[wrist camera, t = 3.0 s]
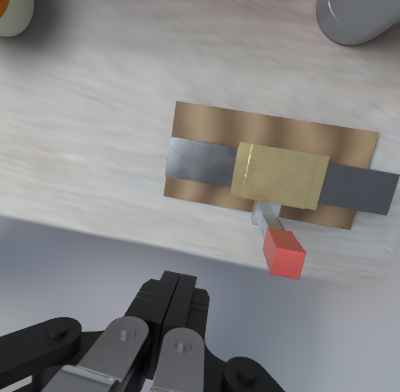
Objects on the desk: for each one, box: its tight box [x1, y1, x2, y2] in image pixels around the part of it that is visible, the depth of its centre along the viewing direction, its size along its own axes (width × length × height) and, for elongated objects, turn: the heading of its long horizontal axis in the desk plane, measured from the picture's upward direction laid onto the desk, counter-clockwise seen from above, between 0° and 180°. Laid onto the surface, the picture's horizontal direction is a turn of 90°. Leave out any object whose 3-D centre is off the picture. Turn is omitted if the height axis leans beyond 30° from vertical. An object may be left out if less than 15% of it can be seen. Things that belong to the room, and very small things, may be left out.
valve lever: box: [251, 200, 306, 279], centre depth 24 cm, size 2×3×13 cm
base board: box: [164, 101, 379, 230], centre depth 37 cm, size 26×13×2 cm, turn 81°
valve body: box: [165, 137, 400, 215], centre depth 31 cm, size 22×5×11 cm, turn 81°
